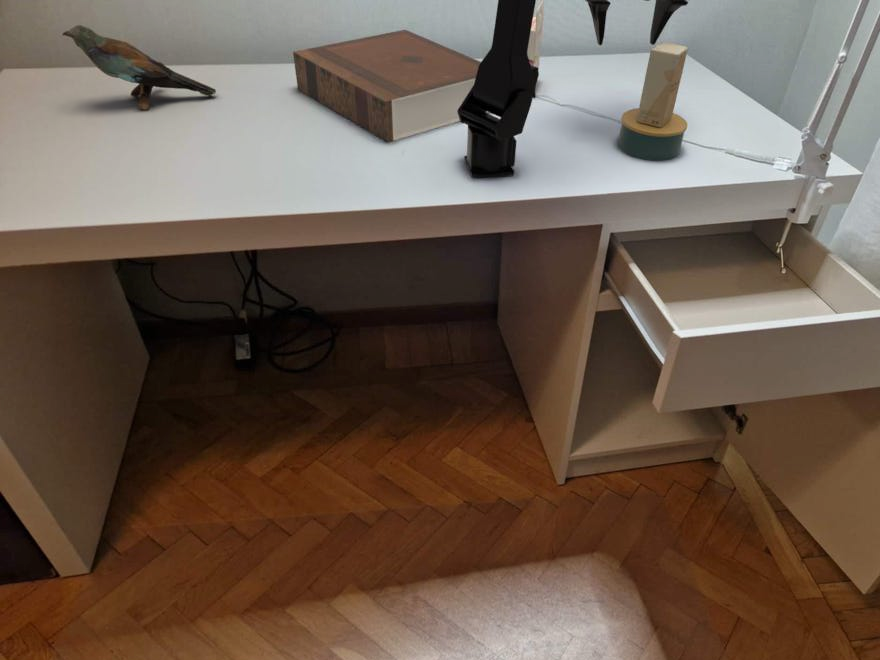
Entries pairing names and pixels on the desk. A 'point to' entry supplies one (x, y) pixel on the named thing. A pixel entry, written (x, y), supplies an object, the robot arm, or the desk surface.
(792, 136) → the desk surface
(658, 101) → the box
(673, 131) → the tin
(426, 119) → the book
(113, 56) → the bird figurine
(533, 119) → the desk surface
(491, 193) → the desk surface
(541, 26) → the ink cartridge box
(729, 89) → the desk surface
